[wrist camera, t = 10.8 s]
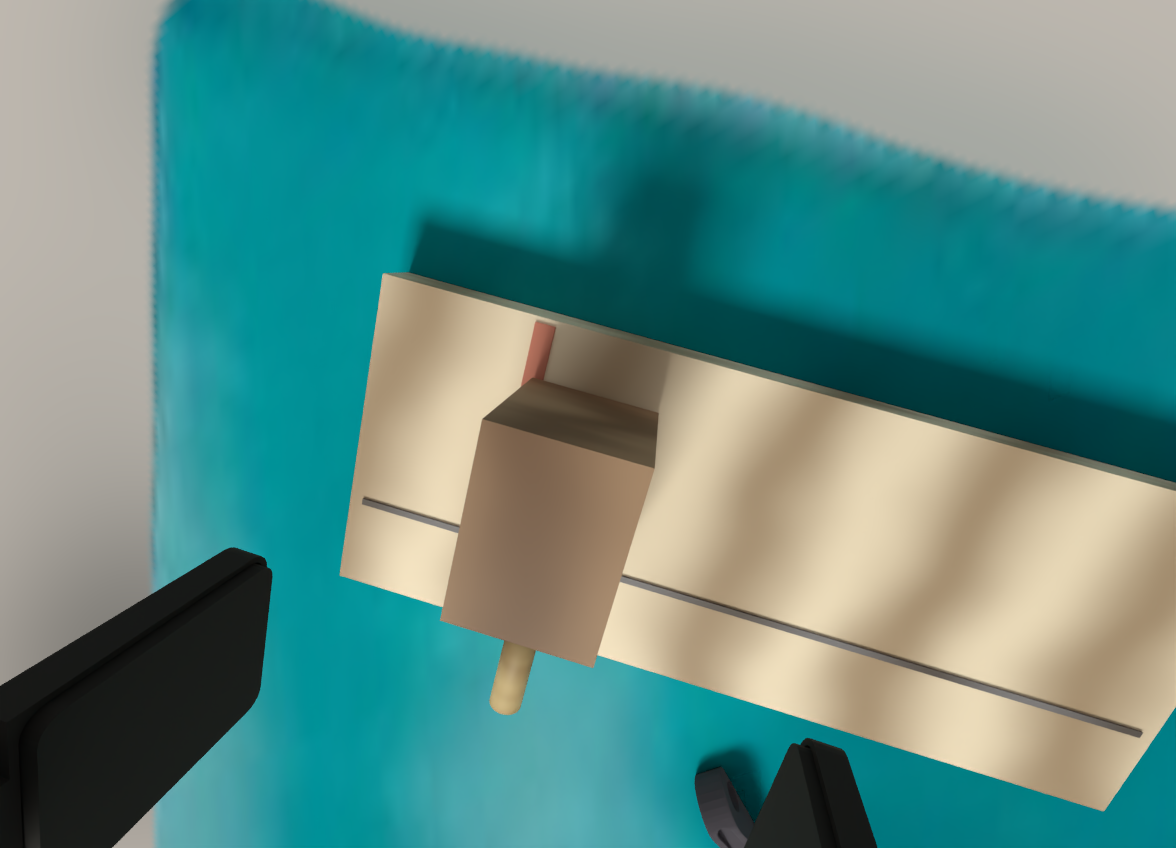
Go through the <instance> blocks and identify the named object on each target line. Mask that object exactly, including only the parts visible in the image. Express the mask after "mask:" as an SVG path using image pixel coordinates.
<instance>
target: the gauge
mask: <svg viewBox="0 0 1176 848" xmlns="http://www.w3.org/2000/svg"><path fill="white" fill-rule="evenodd" d="M658 416H659V413H657V412H654V411H650V410H646V409H643V408H639V407H636V406H632V405H629V404H625V403H622V402H618V401H614V400H611V399H607V398H604V397H600V396H597V395H593V394H590V393H586V392H583V391H579V390H575V389H572V388H568V387H565V386H561V385H558V384H554V383H551V382H547V381H544V380H540V379H536V378H533V377H532V378H531V379H530V380H529V381H527V382H526V383H525V384H524V385H523V386H521V387H520V388H519V389H518V390H517V391H515V392H514V393H513V394H512V395H510V396H509V397H508V398H507V399H506V400H504V401H503V402H502V403H501V404H500V405H498V406H497V407H496V408H495V409H494V410H492V411H491V412H490V413H489V414H488V415H486V416H485V417H484V418H483V419H482V422H481V427H480V432H479V436H478V441H477V446H476V451H475V456H474V460H473V465H472V470H471V475H470V480H469V484H468V489H467V494H466V499H465V504H464V508H463V513H462V518H461V523H460V528H459V532H458V537H457V542H456V547H455V552H454V556H453V561H452V566H451V571H450V576H449V580H448V585H447V590H446V595H445V600H444V604H443V609H442V614H441V619H440V621H444V622H447V623H450V624H453V625H457V626H460V627H463V628H466V629H469V630H473V631H476V632H479V633H482V634H485V635H489V636H492V637H495V638H498V639H502V640H504V644H503V648H502V652H501V656H500V660H499V664H498V668H497V672H496V676H495V680H494V684H493V688H492V692H491V696H490V705H491V707H492V708H493V709H494V710H495V711H496V712H498V713H500V714H504V715H511V714H514V713H516V712H517V711H518V710H519V709H520V707H521V703H522V699H523V696H524V692H525V688H526V685H527V681H528V677H529V674H530V670H531V666H532V663H533V659H534V655H535V651H536V650H537V651H540V652H543V653H547V654H550V655H553V656H556V657H560V658H563V659H566V660H569V661H572V662H576V663H579V664H582V665H585V666H588V667H592V668H593V667H594V664H595V660H596V657H597V654H598V651H599V647H600V644H601V641H602V638H603V634H604V631H605V628H606V625H607V621H608V618H609V615H610V612H611V609H612V605H613V602H614V599H615V596H616V592H617V589H618V586H619V583H620V579H621V576H622V573H623V570H624V566H625V563H626V560H627V557H628V554H629V550H630V547H631V544H632V541H633V537H634V534H635V531H636V528H637V524H638V521H639V518H640V515H641V511H642V508H643V505H644V502H645V499H646V495H647V492H648V489H649V486H650V482H651V479H652V476H653V473H654V469H655V458H656V444H657V430H658Z"/></svg>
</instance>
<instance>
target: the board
mask: <svg viewBox="0 0 1176 848" xmlns="http://www.w3.org/2000/svg"><path fill="white" fill-rule="evenodd" d="M532 377H533V378H536V379H540V380H544V381H547V382H551V383H554V384H558V385H561V386H565V387H568V388H572V389H575V390H579V391H583V392H586V393H590V394H593V395H597V396H600V397H604V398H607V399H611V400H614V401H618V402H622V403H625V404H629V405H632V406H636V407H639V408H643V409H646V410H650V411H654V412H657V413H659V416H658V430H657V444H656V458H655V469H654V473H653V476H652V479H651V482H650V486H649V489H648V492H647V495H646V499H645V502H644V505H643V508H642V511H641V515H640V518H639V521H638V524H637V528H636V531H635V534H634V537H633V541H632V544H631V547H630V550H629V554H628V557H627V560H626V563H625V566H624V570H623V573H622V576H621V579H620V583H619V586H618V589H617V592H616V596H615V599H614V602H613V605H612V609H611V612H610V615H609V618H608V621H607V625H606V628H605V631H604V634H603V638H602V641H601V644H600V647H599V651H598V654H597V655H599V656H602V657H606V658H609V659H612V660H615V661H619V662H622V663H625V664H628V665H632V666H635V667H638V668H641V669H645V670H648V671H651V672H654V673H657V674H661V675H664V676H667V677H670V678H674V679H677V680H680V681H683V682H687V683H690V684H693V685H696V686H700V687H703V688H706V689H709V690H712V691H716V692H719V693H722V694H725V695H729V696H732V697H735V698H738V699H742V700H745V701H748V702H751V703H754V704H758V705H761V706H764V707H767V708H771V709H774V710H777V711H780V712H784V713H787V714H790V715H793V716H797V717H800V718H803V719H806V720H809V721H813V722H816V723H819V724H822V725H826V726H829V727H832V728H835V729H839V730H842V731H845V732H848V733H852V734H855V735H858V736H861V737H864V738H868V739H871V740H874V741H877V742H881V743H884V744H887V745H890V746H894V747H897V748H900V749H903V750H907V751H910V752H913V753H916V754H919V755H923V756H926V757H929V758H932V759H936V760H939V761H942V762H945V763H949V764H952V765H955V766H958V767H962V768H965V769H968V770H971V771H974V772H978V773H981V774H984V775H987V776H991V777H994V778H997V779H1000V780H1004V781H1007V782H1010V783H1013V784H1017V785H1020V786H1023V787H1026V788H1029V789H1033V790H1036V791H1039V792H1042V793H1046V794H1049V795H1052V796H1055V797H1059V798H1062V799H1065V800H1068V801H1072V802H1075V803H1078V804H1081V805H1084V806H1088V807H1091V808H1094V809H1097V810H1101V811H1105V809H1106V808H1107V806H1108V805H1109V803H1110V802H1111V800H1112V799H1113V797H1114V796H1115V794H1116V793H1117V792H1118V790H1119V789H1120V787H1121V786H1122V784H1123V783H1124V781H1125V780H1126V778H1127V777H1128V776H1129V774H1130V773H1131V771H1132V770H1133V768H1134V767H1135V765H1136V764H1137V762H1138V761H1139V760H1140V758H1141V757H1142V755H1143V754H1144V752H1145V751H1146V749H1147V748H1148V746H1149V745H1150V743H1151V742H1152V741H1153V739H1154V738H1155V736H1156V735H1157V733H1158V732H1159V730H1160V729H1161V727H1162V726H1163V725H1164V723H1165V722H1166V720H1167V719H1168V717H1169V716H1170V714H1171V713H1172V711H1173V710H1174V709H1175V707H1176V483H1175V482H1171V481H1167V480H1164V479H1160V478H1156V477H1153V476H1149V475H1145V474H1142V473H1138V472H1134V471H1131V470H1127V469H1124V468H1120V467H1116V466H1113V465H1109V464H1105V463H1102V462H1098V461H1094V460H1091V459H1087V458H1083V457H1080V456H1076V455H1072V454H1069V453H1065V452H1062V451H1058V450H1054V449H1051V448H1047V447H1043V446H1040V445H1036V444H1032V443H1029V442H1025V441H1021V440H1018V439H1014V438H1010V437H1007V436H1003V435H1000V434H996V433H992V432H989V431H985V430H981V429H978V428H974V427H970V426H967V425H963V424H959V423H956V422H952V421H948V420H945V419H941V418H938V417H934V416H930V415H927V414H923V413H919V412H916V411H912V410H908V409H905V408H901V407H897V406H894V405H890V404H886V403H883V402H879V401H876V400H872V399H868V398H865V397H861V396H857V395H854V394H850V393H846V392H843V391H839V390H835V389H832V388H828V387H824V386H821V385H817V384H813V383H810V382H806V381H803V380H799V379H795V378H792V377H788V376H784V375H781V374H777V373H773V372H770V371H766V370H762V369H759V368H755V367H751V366H748V365H744V364H741V363H737V362H733V361H730V360H726V359H722V358H719V357H715V356H711V355H708V354H704V353H700V352H697V351H693V350H689V349H686V348H682V347H679V346H675V345H671V344H668V343H664V342H660V341H657V340H653V339H649V338H646V337H642V336H638V335H635V334H631V333H627V332H624V331H620V330H617V329H613V328H609V327H606V326H602V325H598V324H595V323H591V322H587V321H584V320H580V319H576V318H573V317H569V316H565V315H562V314H558V313H555V312H551V311H547V310H544V309H540V308H536V307H533V306H529V305H525V304H522V303H518V302H514V301H511V300H507V299H503V298H500V297H496V296H493V295H489V294H485V293H482V292H478V291H474V290H471V289H467V288H463V287H460V286H456V285H452V284H449V283H445V282H441V281H438V280H434V279H431V278H427V277H423V276H420V275H416V274H412V273H409V272H407V273H383V277H382V284H381V291H380V298H379V305H378V312H377V319H376V326H375V333H374V340H373V347H372V354H371V361H370V368H369V375H368V382H367V389H366V395H365V402H364V409H363V416H362V423H361V430H360V437H359V444H358V451H357V458H356V465H355V472H354V479H353V486H352V493H351V500H350V507H349V514H348V521H347V528H346V534H345V541H344V548H343V555H342V562H341V569H340V576H344V577H347V578H350V579H353V580H357V581H360V582H363V583H366V584H370V585H373V586H376V587H379V588H383V589H386V590H389V591H392V592H395V593H399V594H402V595H405V596H408V597H412V598H415V599H418V600H421V601H425V602H428V603H431V604H434V605H437V606H441V607H443V604H444V600H445V595H446V590H447V585H448V580H449V576H450V571H451V566H452V561H453V556H454V552H455V547H456V542H457V537H458V532H459V528H460V523H461V518H462V513H463V508H464V504H465V499H466V494H467V489H468V484H469V480H470V475H471V470H472V465H473V460H474V456H475V451H476V446H477V441H478V436H479V432H480V427H481V422H482V419H483V418H484V417H485V416H486V415H488V414H489V413H490V412H491V411H492V410H494V409H495V408H496V407H497V406H498V405H500V404H501V403H502V402H503V401H504V400H506V399H507V398H508V397H509V396H510V395H512V394H513V393H514V392H515V391H517V390H518V389H519V388H520V387H521V386H523V385H524V384H525V383H526V382H527V381H529V380H530V379H531V378H532Z"/></svg>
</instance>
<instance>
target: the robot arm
mask: <svg viewBox="0 0 1176 848" xmlns="http://www.w3.org/2000/svg"><path fill="white" fill-rule="evenodd" d="M271 584H272V571H271V569H270V568H267V562H266V560H265V558H263V557H262V556H259V555H256V554H253V553H250V552H247V551H244V550H241V549H238V548H228V549H226V550H224V551H222V552H221V553H219V554H217V555H216V556H214V557H212V558H211V559H209V560H207V561H206V562H204V563H202V564H201V565H199V566H197V567H196V568H194V569H192V570H191V571H189V572H188V573H186V574H184V575H183V576H181V577H179V578H178V579H176V580H174V581H173V582H171V583H169V584H168V585H166V586H164V587H163V588H161V589H159V590H158V591H156V592H155V593H153V594H151V595H150V596H148V597H146V598H145V599H143V600H141V601H140V602H138V603H136V604H135V605H133V606H131V607H130V608H128V609H126V610H125V611H123V612H121V613H120V614H118V615H117V616H115V617H113V618H112V619H110V620H108V621H107V622H105V623H103V624H102V625H100V626H98V627H97V628H95V629H93V630H92V631H90V632H89V633H87V634H85V635H83V636H82V637H80V638H79V639H77V640H75V641H74V642H72V643H70V644H69V645H67V646H65V647H64V648H62V649H60V650H59V651H57V652H55V653H54V654H52V655H50V656H49V657H47V658H45V659H44V660H42V661H41V662H39V663H38V664H36V665H34V666H32V667H31V668H29V669H27V670H26V671H24V672H22V673H21V674H19V675H18V676H16V677H14V678H12V679H11V680H9V681H8V682H6V683H4V684H3V685H1V686H0V848H112V847H113V846H114V845H115V844H116V843H117V842H118V841H119V840H120V839H121V838H122V837H123V836H124V835H125V834H126V833H127V832H128V831H129V830H130V829H131V828H132V827H133V826H134V825H135V824H136V823H137V822H138V821H139V820H140V819H141V818H142V817H143V816H144V815H145V814H146V813H147V812H148V811H149V810H150V809H151V808H152V807H153V806H154V805H155V804H156V803H157V802H158V801H159V800H160V799H161V798H162V797H163V796H164V795H165V794H166V793H167V792H168V791H169V790H170V789H171V788H172V787H173V786H174V785H175V784H176V783H177V782H178V781H179V780H180V779H181V778H182V777H183V776H184V775H185V774H186V773H187V772H188V771H189V770H190V769H191V768H192V767H193V766H194V765H195V764H196V763H197V762H198V761H199V760H200V759H201V758H202V757H203V756H204V755H205V754H206V753H207V752H208V751H209V750H210V749H211V748H212V747H213V746H214V745H215V744H216V743H217V742H218V741H219V740H220V739H221V738H222V737H223V736H224V735H225V734H226V733H227V732H228V731H229V730H230V729H231V728H232V727H233V726H234V725H235V724H236V723H237V722H238V721H239V720H240V719H241V718H242V717H243V716H244V715H245V714H246V713H247V712H248V710H249V709H250V708H251V707H252V705H253V704H254V702H255V700H256V699H257V697H258V694H259V691H260V687H261V677H262V668H263V659H264V649H265V640H266V631H267V621H268V612H269V603H270V593H271ZM744 848H877V845H876V842H875V839H874V836H873V833H872V830H871V827H870V824H869V821H868V818H867V815H866V812H865V809H864V806H863V803H862V800H861V797H860V794H859V791H858V788H857V785H856V782H855V779H854V776H853V773H852V770H851V767H850V763H849V760H848V757H847V755H846V753H845V752H844V751H843V750H842V749H840V748H837V747H834V746H831V745H828V744H825V743H822V742H819V741H816V740H813V739H810V738H806V739H805V740H803V742H802V743H801V745H798V744H795V743H793V744H791V745H790V747H789V749H788V751H787V753H786V755H785V757H784V760H783V762H782V764H781V766H780V769H779V771H778V773H777V775H776V777H775V780H774V782H773V784H772V786H771V789H770V791H769V793H768V795H767V797H766V800H765V802H764V804H763V806H762V809H761V811H760V813H759V815H758V817H757V820H756V822H755V824H754V826H753V829H752V831H751V833H750V835H749V837H748V840H747V842H746V844H745V846H744Z"/></svg>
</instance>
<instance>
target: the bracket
mask: <svg viewBox="0 0 1176 848" xmlns="http://www.w3.org/2000/svg"><path fill="white" fill-rule="evenodd" d="M695 790H696V796H697V800H698V805H699V808H700V812H701V815H702V818H703V821H704V824H705V826H706V829H707V831H708V833H709V835H710V837H711V838H712V840H713V841H714V842H715V843H716V844H717V845H718V846H719V847H720V848H744V846H745V844H746V842H747V840H748V837H749V835H750V833H751V831H752V829H753V826H754V822H753V820H752V819H751V817H750V815H749V813H748V811H747V810H746V808H745V806H744V804H743V803H742V801H741V799H740V797H739V796H738V794H737V792H736V790H735V789H734V787H733V785H732V783H731V782H730V780H729V778H728V776H727V775H726V773H725V771H724V769H723V768H722V767H719V768H715V769H712V770H709V771H706V772H703V773H699V774H697V775H696V776H695Z"/></svg>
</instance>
